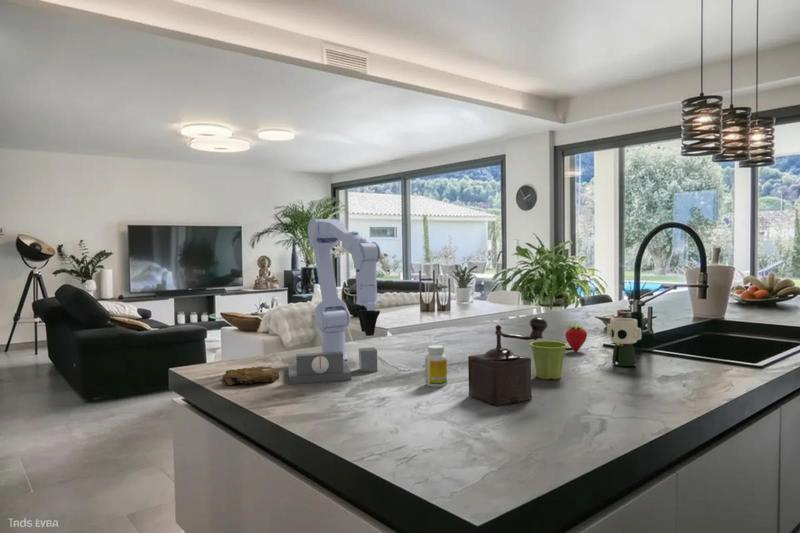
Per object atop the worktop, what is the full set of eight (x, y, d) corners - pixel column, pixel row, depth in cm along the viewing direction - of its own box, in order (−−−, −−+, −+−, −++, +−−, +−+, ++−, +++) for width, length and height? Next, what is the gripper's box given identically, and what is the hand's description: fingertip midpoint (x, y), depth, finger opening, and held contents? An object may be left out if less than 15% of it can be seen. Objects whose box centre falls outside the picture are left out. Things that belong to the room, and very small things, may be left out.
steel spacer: (359, 369, 156) (358, 348, 155) (374, 368, 157) (374, 347, 156) (361, 372, 151) (361, 351, 151) (377, 371, 152) (377, 350, 152)
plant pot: (574, 376, 142) (573, 343, 141) (557, 383, 135) (556, 348, 135) (541, 371, 148) (541, 339, 148) (523, 377, 141) (523, 344, 141)
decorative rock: (230, 393, 134) (285, 385, 143) (230, 377, 134) (286, 370, 143) (213, 382, 143) (267, 375, 152) (214, 367, 143) (267, 360, 152)
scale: (288, 369, 157) (287, 345, 157) (344, 365, 160) (343, 341, 160) (289, 384, 140) (288, 357, 139) (351, 379, 143) (350, 353, 143)
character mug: (599, 363, 156) (599, 318, 155) (615, 360, 159) (615, 316, 159) (632, 370, 146) (632, 322, 146) (649, 367, 150) (649, 320, 149)
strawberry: (591, 351, 174) (591, 320, 173) (576, 354, 169) (575, 322, 169) (576, 348, 178) (576, 318, 178) (561, 351, 174) (560, 320, 174)
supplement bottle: (421, 384, 137) (420, 346, 136) (436, 380, 140) (436, 343, 140) (436, 388, 133) (435, 349, 132) (451, 384, 136) (451, 346, 136)
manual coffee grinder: (497, 407, 116) (496, 323, 115) (467, 396, 126) (466, 318, 125) (552, 397, 123) (551, 317, 123) (519, 386, 133) (518, 313, 132)
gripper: (385, 286, 147) (386, 336, 147) (376, 283, 161) (377, 329, 161) (359, 287, 145) (360, 338, 146) (352, 284, 160) (353, 330, 160)
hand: (367, 333), depth 154 cm, fingers open, 7 cm apart
